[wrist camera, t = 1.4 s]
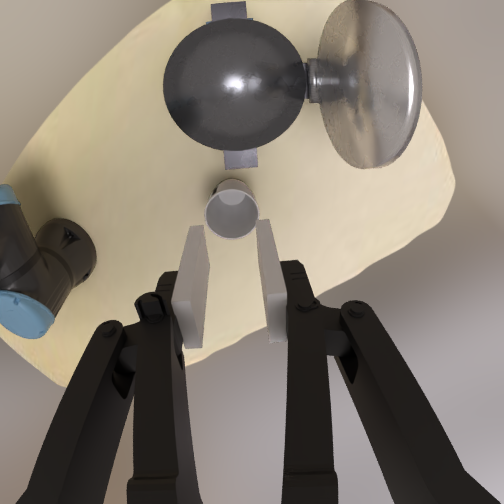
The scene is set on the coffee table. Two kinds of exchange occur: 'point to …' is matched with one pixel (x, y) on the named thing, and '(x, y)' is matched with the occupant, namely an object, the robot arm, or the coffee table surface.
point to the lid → (367, 83)
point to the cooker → (235, 84)
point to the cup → (231, 210)
